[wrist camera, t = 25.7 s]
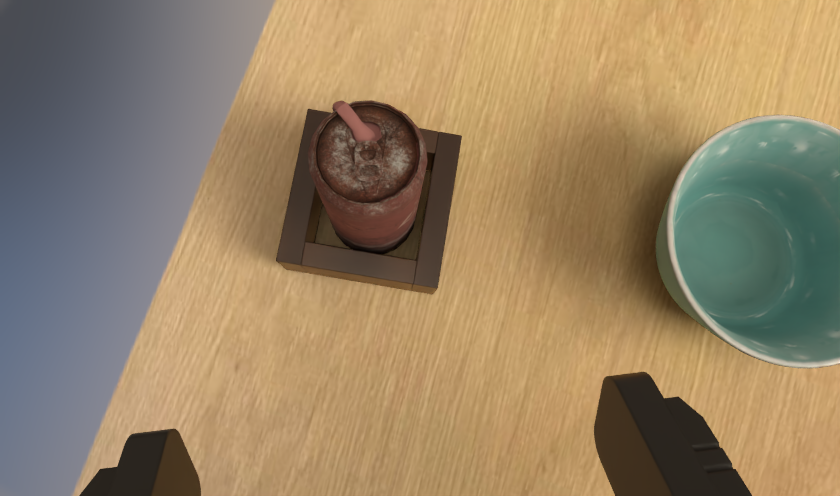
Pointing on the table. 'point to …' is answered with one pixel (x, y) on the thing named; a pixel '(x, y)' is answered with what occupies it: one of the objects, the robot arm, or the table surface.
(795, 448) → the table surface
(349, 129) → the can
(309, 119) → the socket block
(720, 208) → the bowl
